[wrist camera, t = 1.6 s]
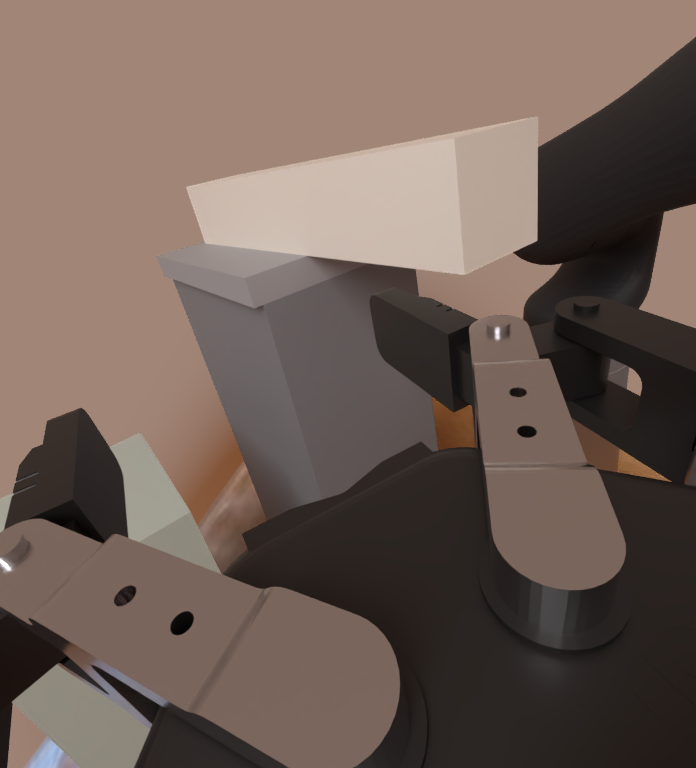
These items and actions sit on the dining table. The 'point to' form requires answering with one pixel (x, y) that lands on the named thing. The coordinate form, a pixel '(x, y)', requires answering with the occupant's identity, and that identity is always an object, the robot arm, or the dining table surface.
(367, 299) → the charcoal stand
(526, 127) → the cream block
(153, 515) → the sage-grey block
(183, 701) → the robot arm
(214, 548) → the dining table surface
